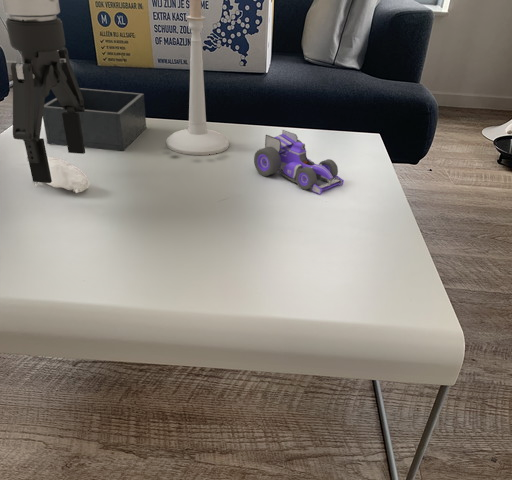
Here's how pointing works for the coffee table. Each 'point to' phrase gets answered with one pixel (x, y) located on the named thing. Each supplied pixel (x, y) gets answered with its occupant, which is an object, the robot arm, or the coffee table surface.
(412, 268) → the coffee table surface
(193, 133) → the candlestick
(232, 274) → the coffee table surface
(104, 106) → the dark grey open box
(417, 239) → the coffee table surface
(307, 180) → the toy race car
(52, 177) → the white lumpy piece
